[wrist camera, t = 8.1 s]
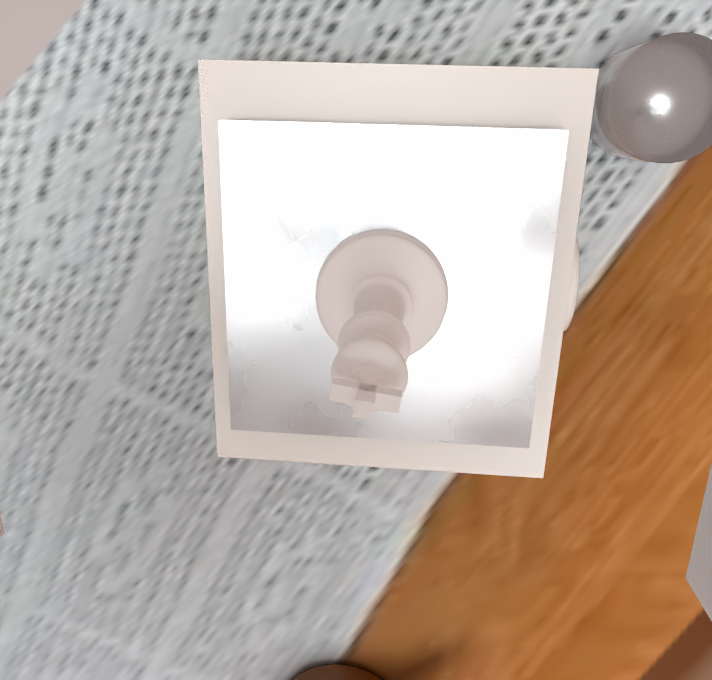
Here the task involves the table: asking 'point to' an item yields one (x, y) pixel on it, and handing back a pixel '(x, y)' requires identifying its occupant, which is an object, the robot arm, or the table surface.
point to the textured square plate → (403, 214)
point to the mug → (336, 673)
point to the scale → (401, 107)
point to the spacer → (656, 100)
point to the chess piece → (378, 315)
